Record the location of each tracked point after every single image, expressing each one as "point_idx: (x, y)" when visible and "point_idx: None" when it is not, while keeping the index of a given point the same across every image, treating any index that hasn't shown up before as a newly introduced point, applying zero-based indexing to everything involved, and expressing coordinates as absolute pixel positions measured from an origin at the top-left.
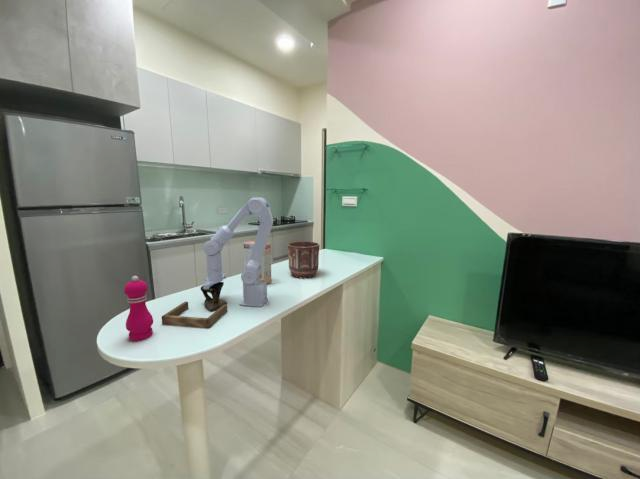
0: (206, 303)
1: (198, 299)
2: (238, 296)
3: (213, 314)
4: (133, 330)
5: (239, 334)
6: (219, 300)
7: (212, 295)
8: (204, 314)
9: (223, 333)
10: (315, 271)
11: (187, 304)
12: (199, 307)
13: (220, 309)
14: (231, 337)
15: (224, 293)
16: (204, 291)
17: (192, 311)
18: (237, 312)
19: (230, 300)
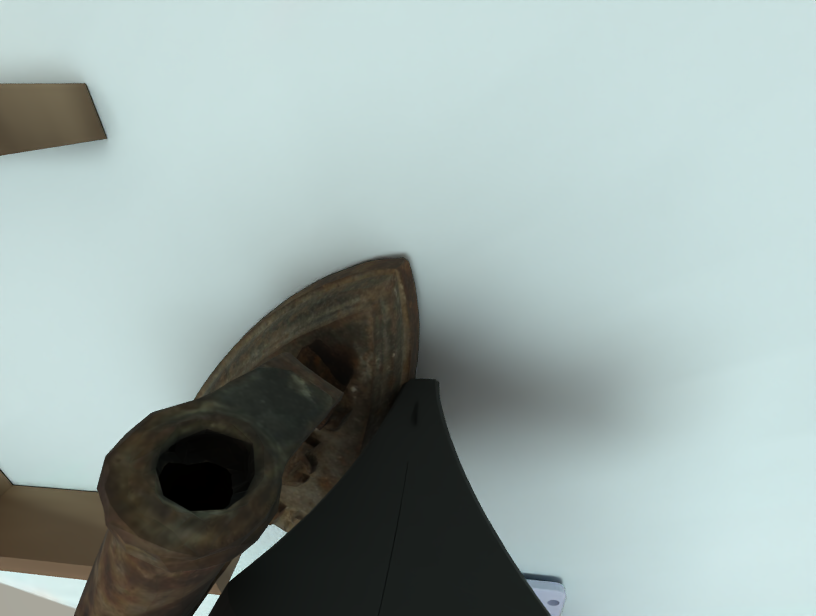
0: (233, 377)
1: (495, 43)
2: (622, 517)
3: (12, 564)
4: None
5: (75, 606)
6: (291, 520)
7: (381, 432)
8: (121, 395)
9: None
10: None
11: (12, 151)
12: (219, 265)
13: None
14: (32, 589)
15: (780, 357)
16: (260, 419)
17: (91, 246)
18: None
19: (497, 484)
